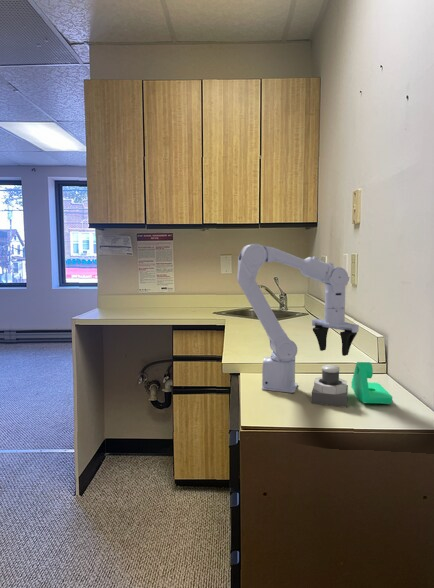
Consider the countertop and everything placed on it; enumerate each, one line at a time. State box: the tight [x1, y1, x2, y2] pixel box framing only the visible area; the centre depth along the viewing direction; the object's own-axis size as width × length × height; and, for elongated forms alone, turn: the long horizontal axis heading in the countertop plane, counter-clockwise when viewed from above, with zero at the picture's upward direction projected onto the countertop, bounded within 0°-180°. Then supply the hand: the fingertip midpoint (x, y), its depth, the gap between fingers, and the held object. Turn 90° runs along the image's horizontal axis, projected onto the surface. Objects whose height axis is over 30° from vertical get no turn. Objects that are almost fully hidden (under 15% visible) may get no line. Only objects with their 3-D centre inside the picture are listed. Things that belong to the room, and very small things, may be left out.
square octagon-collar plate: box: [311, 376, 349, 408], centre depth 108 cm, size 9×9×5 cm
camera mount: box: [351, 361, 393, 405], centre depth 108 cm, size 12×8×10 cm, turn 176°
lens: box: [321, 364, 340, 386], centre depth 108 cm, size 5×5×6 cm
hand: (333, 352), depth 117 cm, fingers open, 7 cm apart
